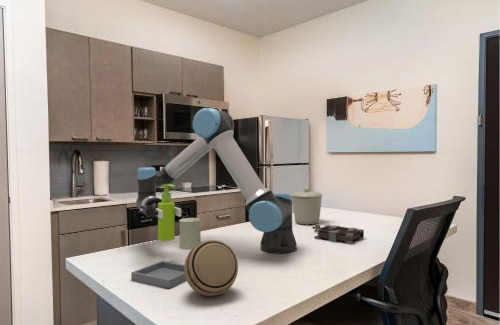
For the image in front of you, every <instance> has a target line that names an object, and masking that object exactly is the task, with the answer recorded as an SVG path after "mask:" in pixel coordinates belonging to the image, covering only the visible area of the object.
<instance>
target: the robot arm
mask: <svg viewBox="0 0 500 325" xmlns="http://www.w3.org/2000/svg"><path fill="white" fill-rule="evenodd" d="M192 128H193V131H194V133H195V134H196V135H197V136H198V137H197V138H196V139H195V140H193V142H191V144H189V145H188V146H187V147H186V148H184V149H183V150H182V151H181V152H179V154H177V155H176V156H175V157H174V158H173V159H172V160H171V161H169V163H166V164H167V165H165V166H164V167H163V168H162V169H160V170H156V168H155V167H154V166H153V167H148V166H147V167H138V169H137V176H136V179H137V198H136V199H135V206H136V207H137V209H138V210H139V211H140V214H143V215H145V216H147V217H149V216H151V218H152V219H154V218H156V217H157V218H158V217H159V218H163V210H160V209H158V203H160V202H162V198H160V197H157V188H164V186H162V185H165V184H172V185H175V183H176V181H177V179H178V178H179V177H180V176H181V175H182V174H183V173H184V172H186V171H187V170H188V169H190V167H192V166H193V165H194V164H195V163H197V162H198V161H199V160H200V159H201V158H202V157H204V156H205V155H206V154H207V153H208V152H209V151H210V150H212V149H214V151H215V152H216V153H217V155H218V157H219V158H220V160H221V162H222V163H223V165H224V166H225V168H226V170H227V172H228V173H229V174H230V176H231V177H232V180H233V181H234V183H235V184H236V186H237V188H238V189H239V191H240V192H241V194H242V196H243V197H244V198H245V203H244V204H245V205H244V207H245V208H246V209H247V211H248V220H249V222H250V224H251V226H252V227H253V228H254V229H256V230H257V231H259V232H262V237H261V240H260V244H259V245H260V246H259V247H260V250H261V251H263V252H266V253H270V254H286V253H287V254H288V253H293V252H295V251H296V250H297V249H298V248H297V246H298V243H297V241H296V238H295V234H294V232H293V202H292V196H291V194H289V193H277V192H273V191H272V190H271V189H270V188H267V187H265V186H264V183H263V182H262V181H261V179H260V178H259V176H258V174H257V173H256V171H255V170H254V168H253V167H252V164H251V163H250V162H249V160H248V159H247V157H246V155H245V154H244V153H243V151H242V149H241V147H239V145H238V143H237V141H236V140H235V139H234V138H235V137H234V128H235V122H234V119H233V117H232V116H231V115H230V114H229V113H228V112H225V111H222V110H219V109H215V108H214V107H204V108H201V109H199V110H198V111H197V112H196V113H195V115H194V116H193V120H192ZM182 207H183V206H182V205H179V204H175V216H176V217H179V218H180V217H182V212H183V208H182Z"/></svg>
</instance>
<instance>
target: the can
mask: <svg viewBox="0 0 500 325" xmlns="http://www.w3.org/2000/svg"><path fill="white" fill-rule="evenodd" d="M178 221H179V248H181V249H185V250H189V249H190V250H191V249H192V248H193V247H195V246H196V245H197V244H199V243H201V242H202V240H201V233H202V232H201V218H200V217H185V218H181V219H179V220H178Z"/></svg>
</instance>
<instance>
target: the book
mask: <svg viewBox="0 0 500 325" xmlns="http://www.w3.org/2000/svg"><path fill="white" fill-rule="evenodd" d="M312 230H314V231H313V232H315V233H317V235H314V238H315V239H314V240H322V241H328V242H330V241H331V243H342V244H346V245H351V246H352V245H354V244H355V243H356V242H358V241H362V240H363V239H364V236H365V231H364V230H365V229H362V228H361V229H360V228H357V227H345V226H340V225H335V224H334V225H330V224H329V225H327V224H326V225H324V226H323V227H321V225H320V224H314V226H312Z"/></svg>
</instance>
